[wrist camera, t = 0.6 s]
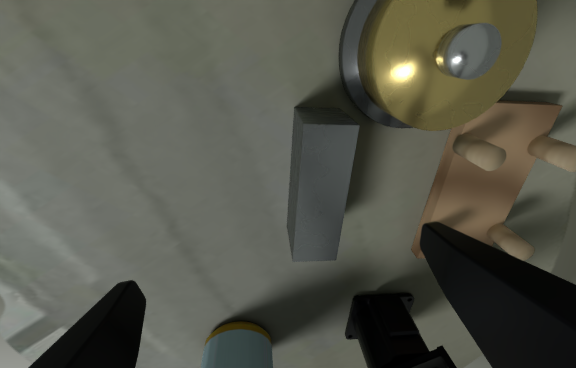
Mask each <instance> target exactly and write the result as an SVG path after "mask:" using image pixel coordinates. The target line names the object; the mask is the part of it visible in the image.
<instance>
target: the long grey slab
mask: <svg viewBox="0 0 576 368" xmlns="http://www.w3.org/2000/svg"><path fill="white" fill-rule="evenodd" d="M359 126H360V125H358V124H357V123H356V122H355V121H354V120H352V119H351V118H350V117H349V116H348V115H346V114H345V113H344V112H343V111H342V110H340V109H336V108H305V107H294V119H293V135H292V151H291V167H290V183H289V199H288V215H287V230H288V236H289V242H290V248H291V255H292V261H293V262H297V261H329V260H336V258H337V252H338V246H339V241H340V235H341V229H342V224H343V218H344V212H345V206H346V201H347V195H348V189H349V183H350V178H351V172H352V166H353V161H354V155H355V149H356V143H357V138H358V132H359Z"/></svg>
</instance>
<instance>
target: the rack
mask: <svg viewBox="0 0 576 368" xmlns="http://www.w3.org/2000/svg"><path fill="white" fill-rule="evenodd" d="M561 108H562V105H557V104H552V103H548V102H527V101H503V100H498V101H497V102H496V103H495V104H494V105H493V106H492V107H491V108H489V109H488V110H487V111H486V112H484V113H483V114H481V115H480V116H478V117H477V118H475V119H473V120H471V121H469V122H468V123H465V124H463V125H460V126H458V127H454V128H451V131H450V134H449V137H448V140H447V143H446V146H445V149H444V152H443V155H442V158H441V161H440V164H439V167H438V170H437V173H436V176H435V179H434V182H433V185H432V188H431V191H430V194H429V197H428V200H427V203H426V206H425V209H424V212H423V215H422V218H421V221H420V224H419V227H418V230H417V233H416V236H415V239H414V242H413V245H412V248H411V250H412V252H413V253H414V254H415V256H416V257H417V258H425V257H424V255H423V253H422V251H421V248H420V236H421V229H422V225H423V224H424V223H428V222H433V221H437V222H440V223H442V224H444V225H446V226H449V227H451V228H453V229H455V230H457V231H460V232H462V233H464V234H466V235H468V236H470V237H473V238H475V239H477V240H479V241H481V242H484V243H486V244H488V245H490V246H492V245H493V243H494V242H495V243H496V244H498V245H499V246H500V247H501V248H502V249H504V250H505V251H506V252H507V253H508V254H510V255H512V256H514V257H516V258H518V259H521V260H523V261H524V260H527V259H528V258H530V257H531V256H532V255H533V254H534V251H535V248H534V247H533V246H532V245H530V244H529V243H528V242H526V241H525V240H523V239H522V238H521V237H519V236H518V235H517V234H515V233H514V232H513V231H511V230H510V229H509V228H507V227H506V226H505V225H503V224H504V222H505V220H506V218H507V216H508V214H509V212H510V210H511V208H512V206H513V204H514V202H515V200H516V198H517V196H518V194H519V192H520V190H521V188H522V186H523V184H524V182H525V180H526V178H527V176H528V174H529V172H530V170H531V168H532V166H533V164H534V162H535V160H536V158H539V159H541V160H544V161H546V162H549V163H551V164H553V165H556V166H558V167H561V168H563V169H565V170H568V171H570V172H575V171H576V146H574V145H571V144H568V143H565V142H562V141H559V140H556V139H553V138H550V137H547V136H548V134H549V132H550V130H551V128H552V126H553V124H554V122H555V120H556V118H557V116H558V114H559V112H560V110H561Z"/></svg>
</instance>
